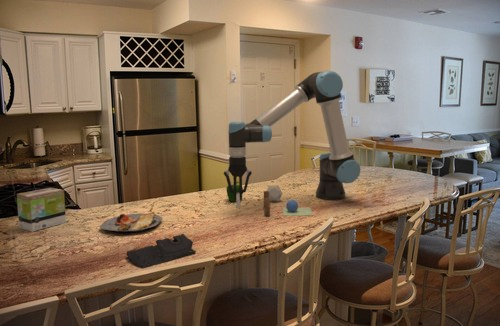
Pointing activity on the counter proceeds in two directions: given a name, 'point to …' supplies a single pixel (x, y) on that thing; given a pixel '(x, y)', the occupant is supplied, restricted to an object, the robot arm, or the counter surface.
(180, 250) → the stepped dark grey slab
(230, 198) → the bell pepper
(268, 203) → the gate post
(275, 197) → the die
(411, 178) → the counter surface
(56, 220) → the tea box
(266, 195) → the gate post
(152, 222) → the food plate
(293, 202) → the ball
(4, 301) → the counter surface
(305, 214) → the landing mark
